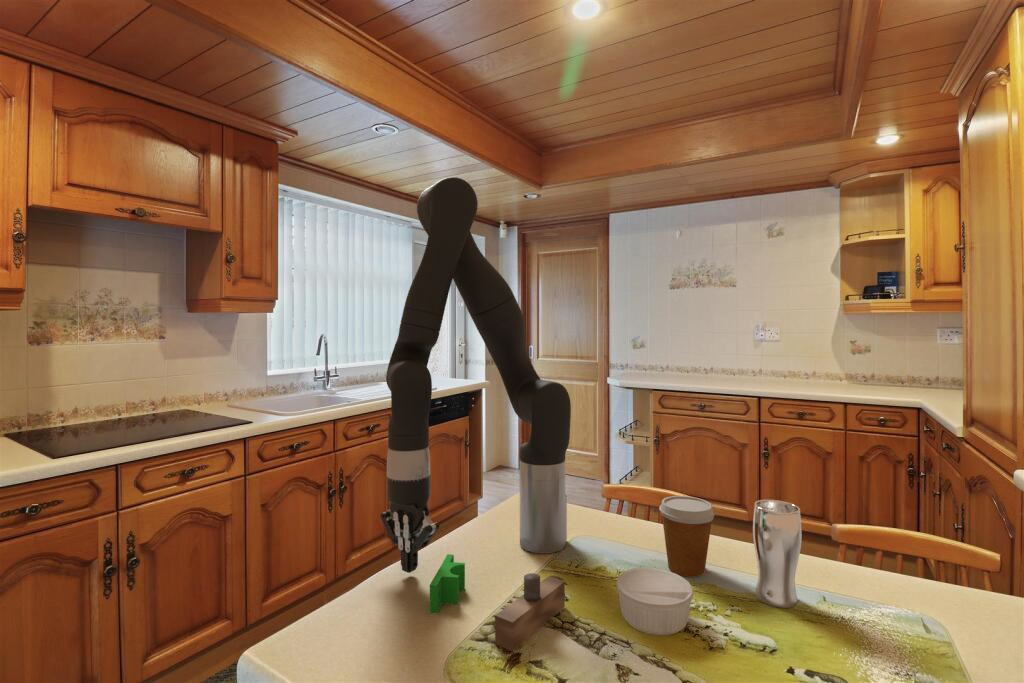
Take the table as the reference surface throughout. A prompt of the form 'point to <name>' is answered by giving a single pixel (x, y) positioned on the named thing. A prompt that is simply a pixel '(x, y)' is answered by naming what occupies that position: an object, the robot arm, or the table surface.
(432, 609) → the pipe clamp
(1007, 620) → the table surface
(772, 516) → the beer glass
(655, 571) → the ramekin
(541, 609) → the bar
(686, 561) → the disposable coffee cup
